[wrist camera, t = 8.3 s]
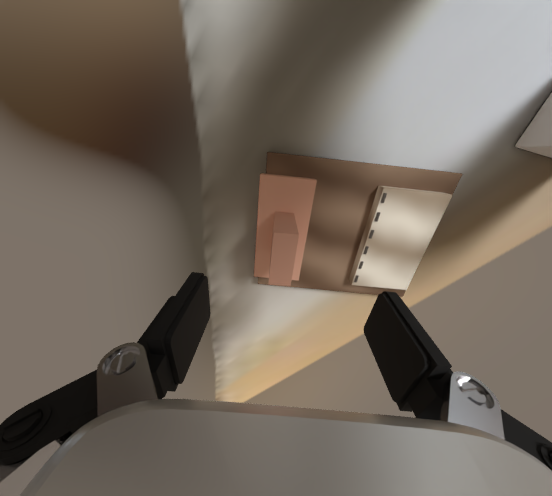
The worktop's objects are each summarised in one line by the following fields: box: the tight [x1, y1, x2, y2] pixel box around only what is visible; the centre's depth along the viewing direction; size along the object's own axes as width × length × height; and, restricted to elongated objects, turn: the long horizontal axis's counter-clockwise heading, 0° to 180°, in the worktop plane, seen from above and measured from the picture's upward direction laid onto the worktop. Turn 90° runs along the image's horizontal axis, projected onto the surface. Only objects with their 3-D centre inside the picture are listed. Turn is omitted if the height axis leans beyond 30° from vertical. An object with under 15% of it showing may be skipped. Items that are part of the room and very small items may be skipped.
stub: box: [254, 173, 317, 286], centre depth 20 cm, size 12×6×7 cm, turn 174°
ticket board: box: [258, 152, 462, 297], centre depth 23 cm, size 16×20×3 cm
